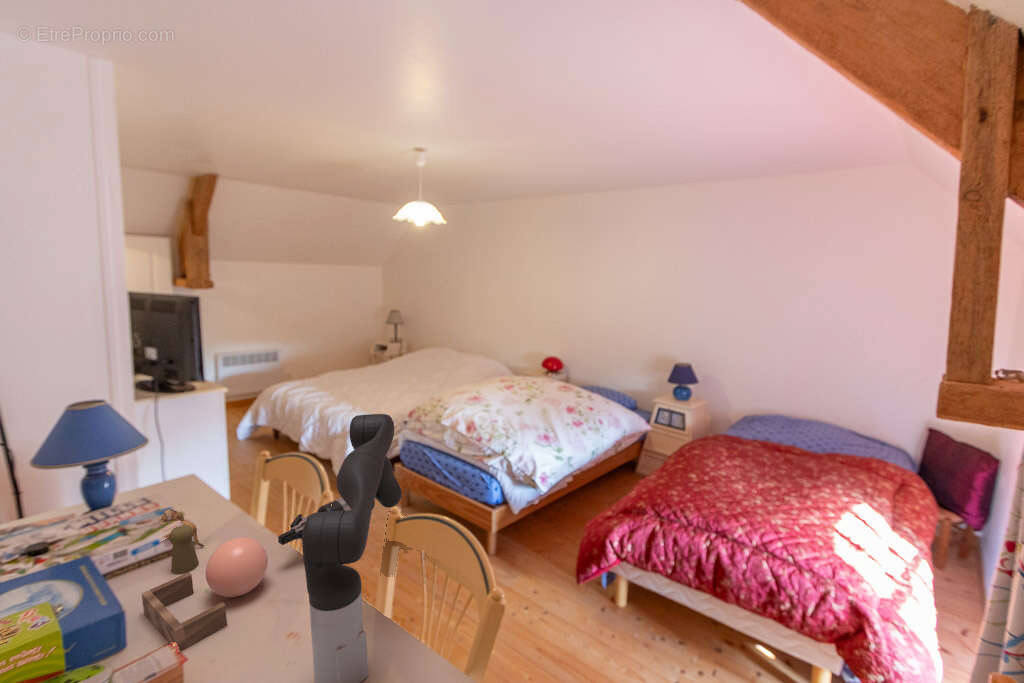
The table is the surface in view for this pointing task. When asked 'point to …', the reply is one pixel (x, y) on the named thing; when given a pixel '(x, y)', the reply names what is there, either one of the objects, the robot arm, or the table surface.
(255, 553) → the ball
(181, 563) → the cork
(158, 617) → the stall
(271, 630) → the table surface
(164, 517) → the lion figurine
